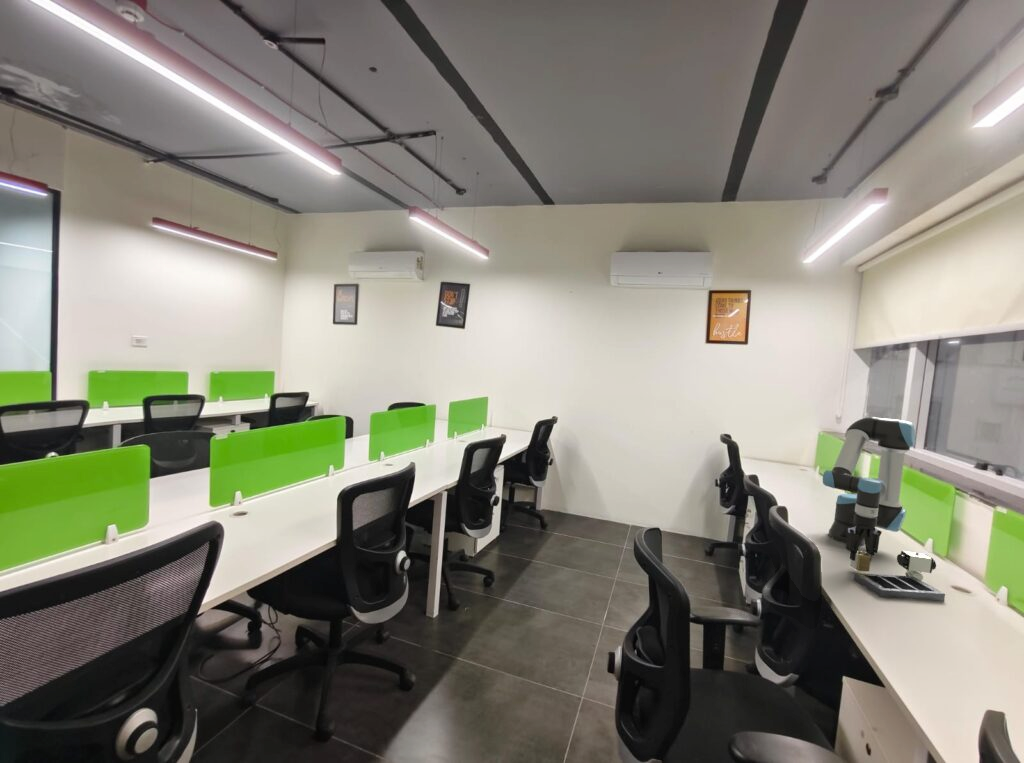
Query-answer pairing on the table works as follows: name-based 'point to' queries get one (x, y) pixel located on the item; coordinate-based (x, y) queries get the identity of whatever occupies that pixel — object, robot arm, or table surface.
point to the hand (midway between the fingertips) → (859, 567)
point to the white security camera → (916, 563)
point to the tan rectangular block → (863, 561)
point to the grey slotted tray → (898, 587)
